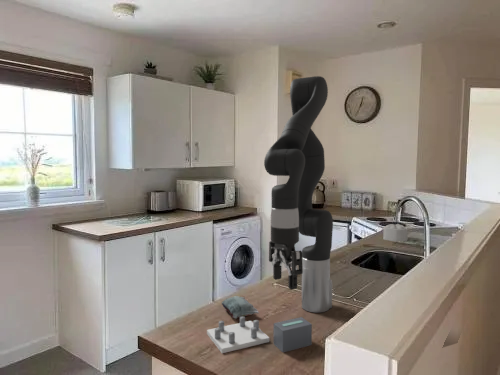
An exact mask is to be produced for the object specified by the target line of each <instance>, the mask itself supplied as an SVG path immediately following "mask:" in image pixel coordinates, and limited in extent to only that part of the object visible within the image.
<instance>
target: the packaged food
mask: <svg viewBox="0 0 500 375" xmlns="http://www.w3.org/2000/svg"><path fill="white" fill-rule="evenodd" d="M221 305H222V306H223V308H224V309H225V310H226V311H227V312H228V313H229V315H230V316H231V317H232V319H233V318H234V319H240V317H242V316H243V317H247V316H251V315H254V314H259V311H258V309H257V308H256V307H254V305H253V304H252V303H251V302H249V301H248V300H247V299H246V297H245V296H238V295H234V296H231V297H228V298H226V299H224V300H223V301H222V302H221Z"/></svg>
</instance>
